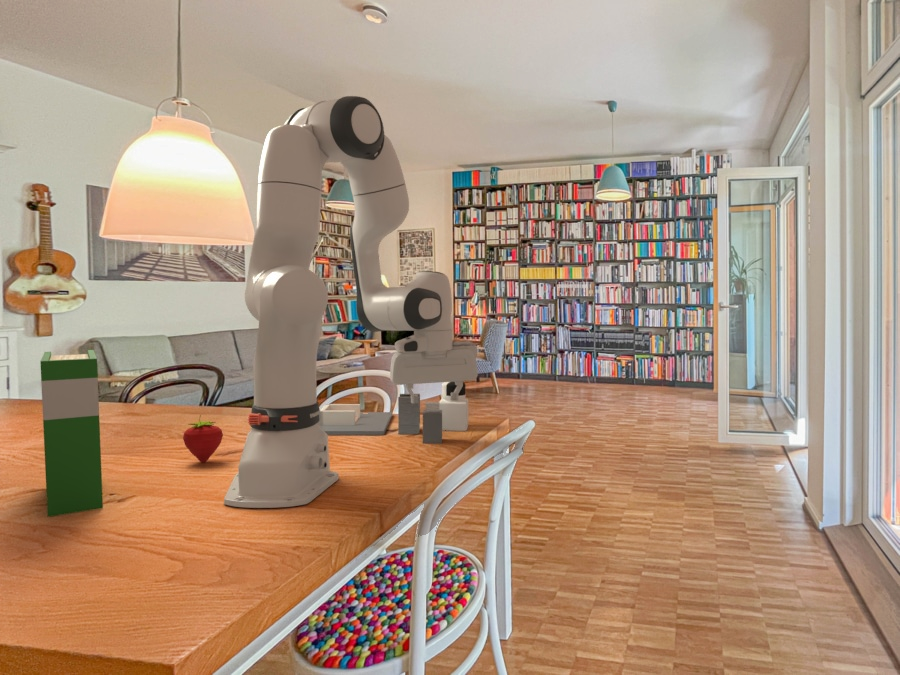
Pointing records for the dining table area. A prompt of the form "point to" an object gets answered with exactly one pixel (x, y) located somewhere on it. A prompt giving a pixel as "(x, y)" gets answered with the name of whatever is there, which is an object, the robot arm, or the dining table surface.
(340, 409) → the end holder
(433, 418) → the connector plug
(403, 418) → the dark grey upright block
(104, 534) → the dining table surface
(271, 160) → the robot arm
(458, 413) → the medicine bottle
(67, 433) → the hardback book
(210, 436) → the strawberry
